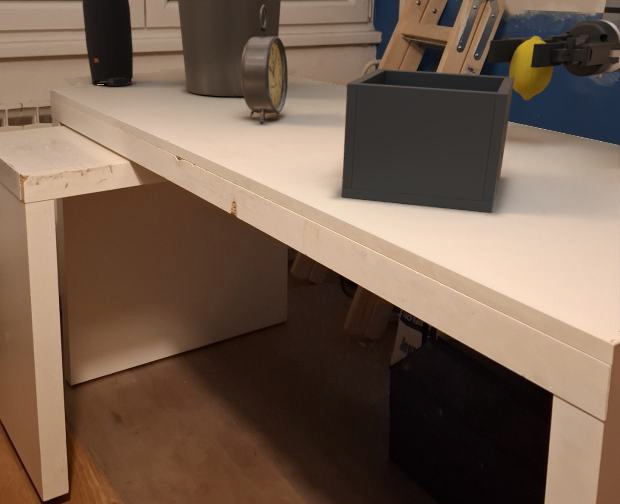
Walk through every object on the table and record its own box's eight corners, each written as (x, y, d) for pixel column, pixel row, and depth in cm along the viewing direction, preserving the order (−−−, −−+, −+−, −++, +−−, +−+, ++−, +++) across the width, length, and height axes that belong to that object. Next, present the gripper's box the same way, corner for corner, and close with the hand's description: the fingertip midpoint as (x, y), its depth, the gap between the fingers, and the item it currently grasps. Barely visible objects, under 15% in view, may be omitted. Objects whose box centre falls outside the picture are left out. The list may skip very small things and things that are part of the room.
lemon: (498, 97, 103) (506, 34, 99) (534, 97, 104) (544, 34, 100) (517, 103, 98) (527, 37, 94) (555, 103, 99) (566, 37, 96)
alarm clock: (269, 126, 112) (270, 6, 105) (235, 123, 113) (233, 5, 106) (289, 115, 121) (290, 4, 114) (257, 112, 122) (256, 3, 115)
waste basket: (167, 82, 153) (159, -88, 140) (265, 82, 159) (266, -82, 146) (187, 102, 130) (179, -99, 117) (301, 101, 135) (305, -92, 122)
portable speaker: (105, 88, 143) (94, -27, 134) (81, 82, 149) (69, -28, 140) (144, 85, 148) (136, -26, 139) (119, 80, 154) (111, -27, 145)
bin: (500, 178, 86) (514, 76, 81) (491, 212, 73) (507, 94, 68) (371, 166, 90) (377, 68, 85) (341, 197, 77) (346, 83, 72)
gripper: (652, 81, 106) (576, 93, 91) (533, 69, 117) (448, 77, 102) (664, 23, 103) (588, 25, 88) (541, 16, 114) (454, 17, 99)
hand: (513, 53), depth 95 cm, fingers closed on lemon, 5 cm apart
